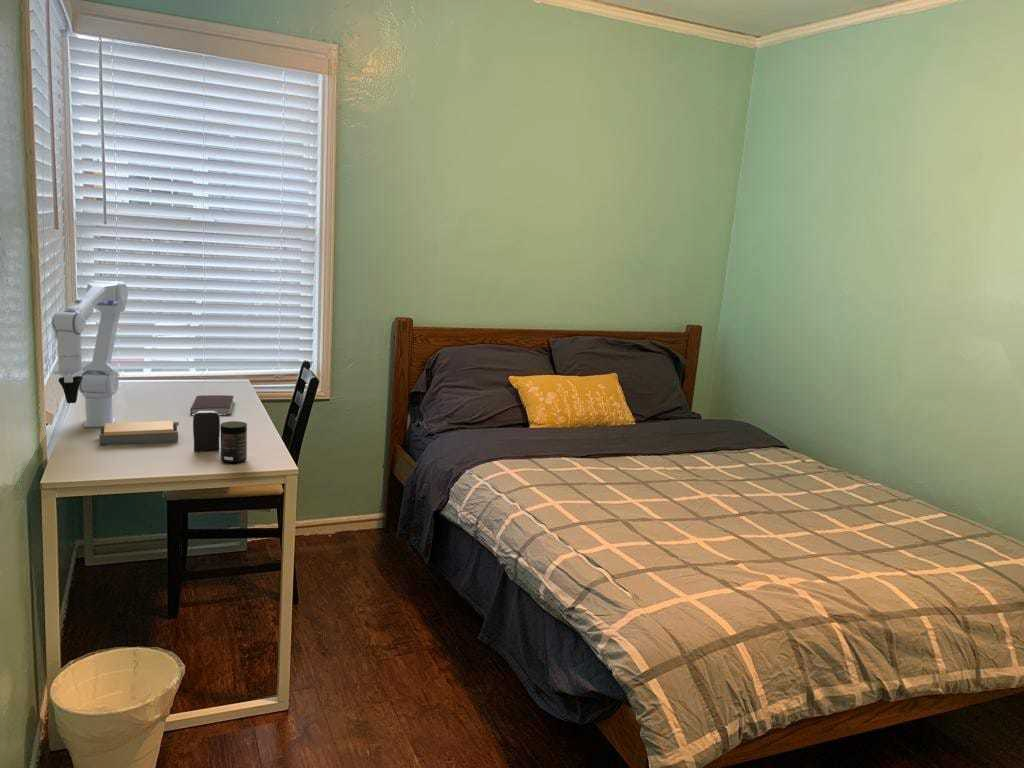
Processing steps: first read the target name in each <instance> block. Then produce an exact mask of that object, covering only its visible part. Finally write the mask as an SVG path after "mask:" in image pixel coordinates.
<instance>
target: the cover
mask: <svg viewBox="0 0 1024 768" xmlns="http://www.w3.org/2000/svg"><path fill="white" fill-rule="evenodd" d="M173 422H174V421H173V420H159V421H158V420H156V421H155V420H154V421H133V422H131V421H130V422H127V421H126V422H114V423H105V426H104V436H107V435H129V434H152V433H174V431H173Z"/></svg>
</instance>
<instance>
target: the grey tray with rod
mask: <svg viewBox="0 0 1024 768" xmlns="http://www.w3.org/2000/svg"><path fill="white" fill-rule="evenodd" d="M172 422H173V431H174V433H152V434H129V435H107V436H104V428H105V426H104V425H98V427H97V428H98V430H100V434H99V435H98V437H99V438H98V439H99V440H98V441H99V446H101V447H102V446H120V445H122V444H123V445H142V443H144V444H156V442H164V443H176V442H175V441H178V442H179V431H178V427H179V426H180V425H179V424H180V423H179V421H172ZM140 443H141V444H140Z"/></svg>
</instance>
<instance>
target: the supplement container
mask: <svg viewBox="0 0 1024 768" xmlns="http://www.w3.org/2000/svg"><path fill="white" fill-rule="evenodd" d="M247 446H248V423H246V422H244V421H237V420H235V421H233V420H232V421H225V422H222V423H220V461H221V462H222V463H223V464H225V465H229V466H230V465H231V466H234V465H235V466H236V465H240V464H244V463H245V462H246V461H247V459H248V450H247V449H248V447H247Z"/></svg>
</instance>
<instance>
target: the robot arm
mask: <svg viewBox="0 0 1024 768" xmlns="http://www.w3.org/2000/svg"><path fill="white" fill-rule="evenodd" d="M128 297H129V291H128V287H127V285H126V284H125V282H124V281H111V280H110V281H109V280H96V279H91V280H90V281H89V282H88V283H87V286H86V293H85V294H84V296H83V297H82V298H75V299H74V301H72V303H70V305H69V306H67V307H66V308H65V309H64V310H62V311H57V312H56V313H54V314H53V316H52V320H51V327H52V330H53V333H54V338H55V339H56V343H57V366H58V368H57V369H55V370H53V374H55V375H58V376H61V377H59V378H58V382H59V384H60V386H61V388H62V390H63V392H64V397H65V400H66V403H67V404H76V403H77V400H78V395H79V394H78V393H79V392H80V393H81V394H82V397H84V403H85V404H84V405H85V406H84V407H85V419H84V424H83V427H84V428H95V427H96V428H98V425H104V427H105V423H115V420H116V419H115V418H116V417H115V416H113V413H114V412H113V396H114V395H115V394H116V393H117V392H118V389H119V372H118V370H117V369H116V368H115V367H114V366H112V365H111V363H112V358H113V352H114V347H115V342H116V335H117V330H118V325H119V320H120V315H121V313H122V312H124V311H125V310H126V308H127V307H126V306H127V302H128ZM94 310H97V311H98V312H100V319H99V323H98V329H97V335H96V339H95V345H94V349H93V355H92V361H91V362H90V363H88V364H86V365H85V366H83V365H82V364H83V363H82V359H83V358H82V356H83V355H82V336H81V335H82V333H83V332H84V329H85V327H86V323H87V320H88V319H89V318H90V317H91V316H92V315H93V314H94Z"/></svg>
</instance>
